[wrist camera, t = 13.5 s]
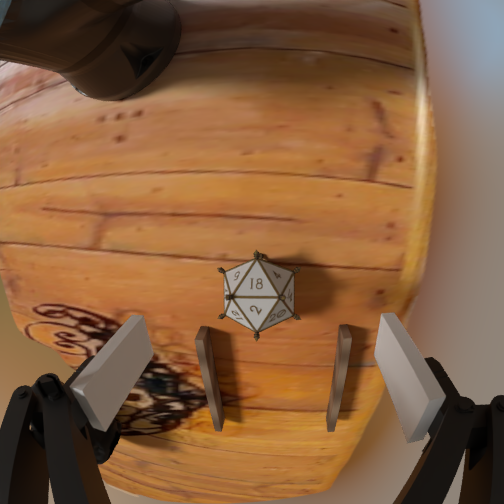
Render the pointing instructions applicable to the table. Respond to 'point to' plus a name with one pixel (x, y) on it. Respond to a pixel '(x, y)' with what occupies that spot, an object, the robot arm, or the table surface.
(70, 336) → the table surface
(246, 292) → the game die
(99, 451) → the black rounded lump
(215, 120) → the table surface
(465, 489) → the robot arm
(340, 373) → the walnut channel
